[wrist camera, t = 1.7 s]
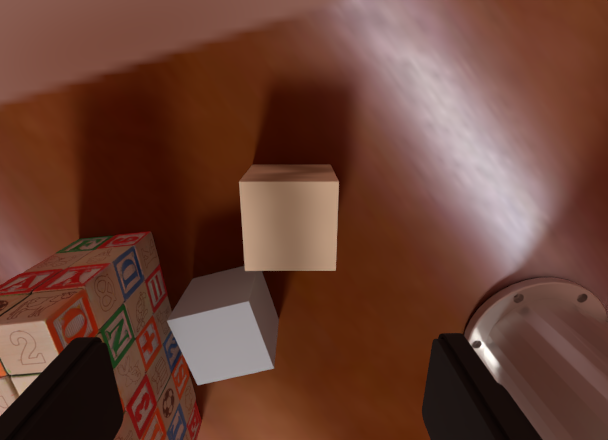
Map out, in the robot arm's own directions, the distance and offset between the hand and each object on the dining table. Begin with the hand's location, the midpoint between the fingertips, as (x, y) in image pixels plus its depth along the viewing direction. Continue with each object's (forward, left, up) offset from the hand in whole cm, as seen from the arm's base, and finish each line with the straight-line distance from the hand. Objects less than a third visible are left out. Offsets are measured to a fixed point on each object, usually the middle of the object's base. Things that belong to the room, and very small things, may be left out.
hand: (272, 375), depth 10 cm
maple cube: (0, 0, -18) cm, 18 cm away
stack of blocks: (+13, +13, -18) cm, 26 cm away
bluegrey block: (+5, +9, -18) cm, 21 cm away
